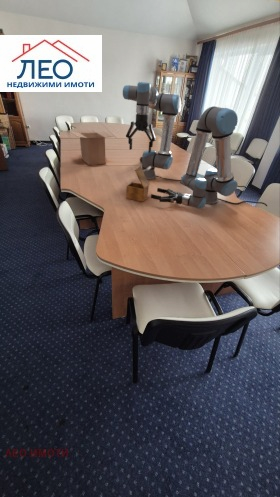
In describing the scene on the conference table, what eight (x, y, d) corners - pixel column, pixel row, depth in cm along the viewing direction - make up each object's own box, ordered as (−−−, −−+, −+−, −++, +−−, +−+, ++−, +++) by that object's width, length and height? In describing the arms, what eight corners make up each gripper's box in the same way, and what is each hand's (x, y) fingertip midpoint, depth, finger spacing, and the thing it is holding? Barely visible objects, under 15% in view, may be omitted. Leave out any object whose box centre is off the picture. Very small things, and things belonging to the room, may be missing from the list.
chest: (126, 198, 165) (126, 186, 160) (131, 193, 173) (131, 181, 167) (143, 201, 162) (144, 189, 156) (147, 197, 169) (148, 185, 163)
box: (116, 165, 229) (116, 136, 213) (83, 168, 214) (80, 137, 198) (102, 154, 259) (101, 128, 243) (71, 156, 244) (68, 129, 228)
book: (194, 177, 212) (195, 172, 209) (208, 182, 203) (210, 177, 200) (180, 182, 199) (181, 177, 196) (194, 188, 190) (196, 182, 187)
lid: (134, 170, 151) (145, 165, 146) (139, 166, 158) (150, 161, 154) (143, 189, 156) (154, 184, 151) (148, 184, 163) (158, 180, 159)
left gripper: (121, 112, 135) (120, 149, 148) (159, 116, 128) (155, 154, 141) (126, 111, 141) (125, 147, 153) (163, 115, 134) (159, 152, 147)
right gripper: (177, 211, 147) (147, 204, 152) (185, 197, 165) (159, 192, 171) (179, 200, 142) (148, 193, 148) (187, 188, 161) (160, 182, 167)
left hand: (140, 150), depth 147 cm, fingers open, 13 cm apart
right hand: (154, 192), depth 160 cm, fingers open, 13 cm apart
